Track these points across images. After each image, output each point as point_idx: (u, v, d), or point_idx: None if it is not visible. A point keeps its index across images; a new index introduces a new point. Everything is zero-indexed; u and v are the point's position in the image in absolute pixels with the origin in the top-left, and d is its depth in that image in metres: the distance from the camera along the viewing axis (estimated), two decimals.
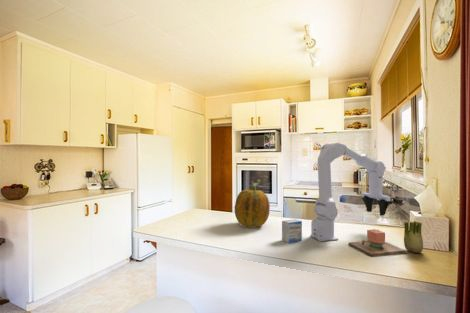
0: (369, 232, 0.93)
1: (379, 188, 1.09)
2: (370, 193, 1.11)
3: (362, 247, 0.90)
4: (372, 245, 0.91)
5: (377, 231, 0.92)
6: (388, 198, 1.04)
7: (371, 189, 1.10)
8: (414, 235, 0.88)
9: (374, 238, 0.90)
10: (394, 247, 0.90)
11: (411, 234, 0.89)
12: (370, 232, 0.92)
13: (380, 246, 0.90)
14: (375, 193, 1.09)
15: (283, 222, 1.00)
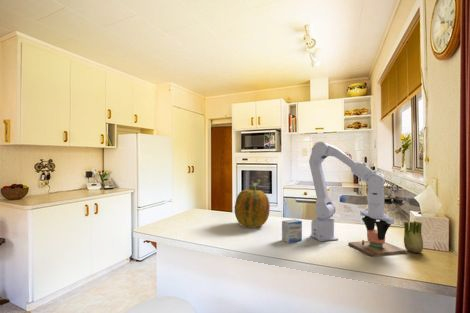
0: (369, 232, 0.93)
1: (380, 207, 0.90)
2: (369, 213, 0.92)
3: (362, 247, 0.90)
4: (372, 245, 0.91)
5: (377, 231, 0.92)
6: (391, 220, 0.85)
7: (370, 208, 0.91)
8: (414, 235, 0.88)
9: (374, 238, 0.90)
10: (394, 247, 0.90)
11: (411, 234, 0.89)
12: (370, 232, 0.92)
13: (380, 246, 0.90)
14: (375, 213, 0.90)
15: (283, 222, 1.00)
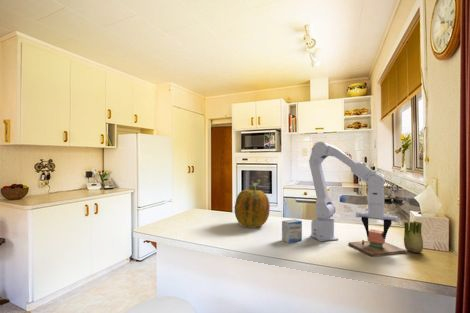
0: (372, 233, 0.91)
1: None
2: (375, 214, 0.90)
3: (362, 247, 0.90)
4: (372, 245, 0.91)
5: (377, 231, 0.92)
6: (397, 218, 0.88)
7: (377, 209, 0.90)
8: (414, 235, 0.88)
9: (379, 239, 0.89)
10: (394, 247, 0.90)
11: (411, 234, 0.89)
12: (373, 233, 0.91)
13: (380, 246, 0.90)
14: (381, 213, 0.90)
15: (283, 222, 1.00)
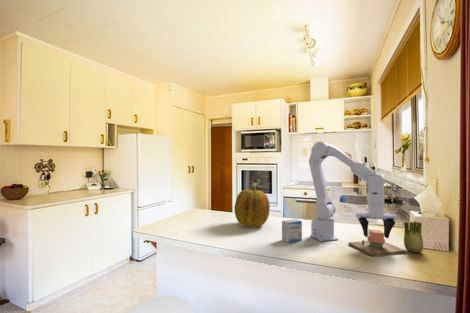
0: (374, 234, 0.90)
1: None
2: (378, 214, 0.90)
3: (362, 247, 0.90)
4: (372, 245, 0.91)
5: (376, 231, 0.92)
6: None
7: (380, 209, 0.90)
8: (414, 235, 0.88)
9: (381, 239, 0.90)
10: (394, 247, 0.90)
11: (411, 234, 0.89)
12: (376, 234, 0.90)
13: (380, 246, 0.90)
14: (383, 213, 0.90)
15: (283, 222, 1.00)
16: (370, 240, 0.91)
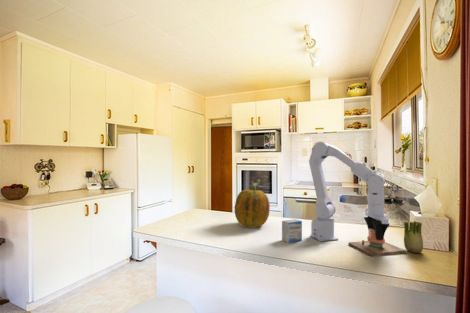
0: (374, 234, 0.90)
1: (377, 207, 0.90)
2: (368, 212, 0.93)
3: (362, 247, 0.90)
4: (372, 245, 0.91)
5: None
6: (385, 220, 0.85)
7: (369, 208, 0.92)
8: (414, 235, 0.88)
9: None
10: (394, 247, 0.90)
11: (411, 234, 0.89)
12: None
13: (380, 246, 0.90)
14: (372, 213, 0.91)
15: (283, 222, 1.00)
16: (370, 240, 0.91)
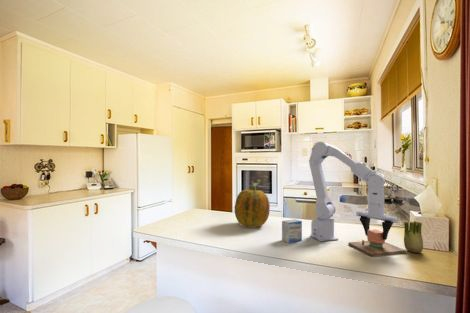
0: (378, 234, 0.90)
1: (383, 207, 0.90)
2: (372, 213, 0.91)
3: (362, 247, 0.90)
4: (372, 245, 0.91)
5: (375, 230, 0.93)
6: (396, 219, 0.86)
7: (374, 208, 0.90)
8: (414, 235, 0.89)
9: None
10: (394, 247, 0.90)
11: (411, 234, 0.89)
12: (379, 234, 0.90)
13: (380, 246, 0.90)
14: (379, 213, 0.89)
15: (283, 222, 1.00)
16: (375, 241, 0.90)
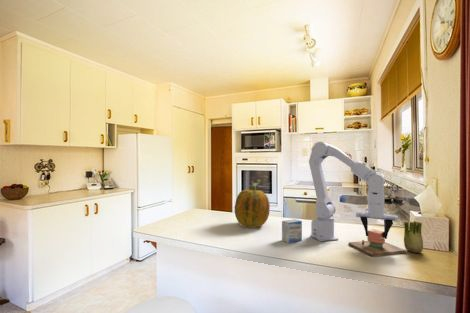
0: (381, 234, 0.90)
1: None
2: (375, 213, 0.90)
3: (362, 247, 0.90)
4: (372, 245, 0.91)
5: (375, 230, 0.93)
6: None
7: (377, 208, 0.90)
8: (414, 235, 0.88)
9: (383, 237, 0.91)
10: (394, 247, 0.90)
11: (411, 234, 0.89)
12: (381, 234, 0.90)
13: (380, 246, 0.90)
14: (382, 213, 0.90)
15: (283, 222, 1.00)
16: (378, 242, 0.89)
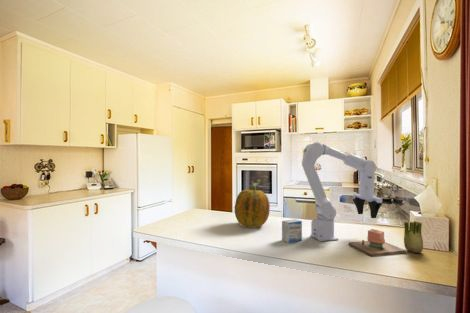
0: (381, 234, 0.90)
1: (370, 189, 1.02)
2: (361, 194, 1.04)
3: (362, 247, 0.90)
4: (372, 245, 0.91)
5: (375, 230, 0.93)
6: (379, 200, 0.97)
7: (362, 190, 1.04)
8: (414, 235, 0.89)
9: (383, 237, 0.91)
10: (394, 247, 0.90)
11: (411, 234, 0.89)
12: (381, 234, 0.90)
13: (380, 246, 0.90)
14: (366, 194, 1.02)
15: (283, 222, 1.00)
16: (378, 242, 0.89)
